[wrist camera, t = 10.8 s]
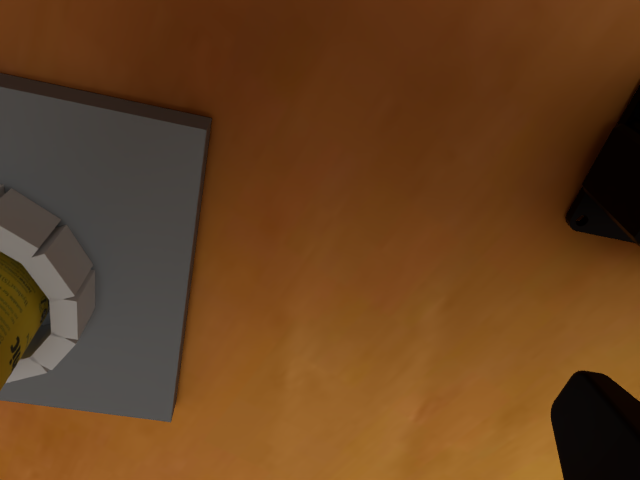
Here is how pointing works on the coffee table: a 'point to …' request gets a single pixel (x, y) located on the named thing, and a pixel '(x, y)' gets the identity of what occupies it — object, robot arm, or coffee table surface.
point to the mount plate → (101, 243)
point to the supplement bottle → (18, 313)
